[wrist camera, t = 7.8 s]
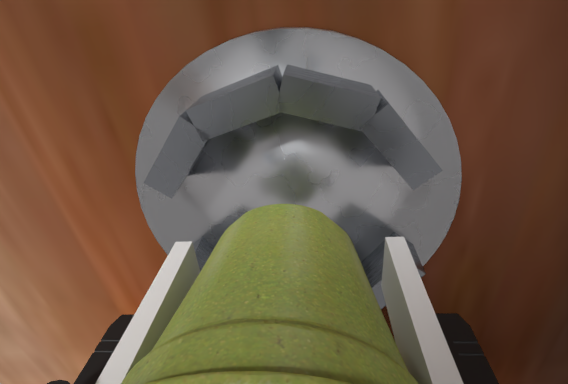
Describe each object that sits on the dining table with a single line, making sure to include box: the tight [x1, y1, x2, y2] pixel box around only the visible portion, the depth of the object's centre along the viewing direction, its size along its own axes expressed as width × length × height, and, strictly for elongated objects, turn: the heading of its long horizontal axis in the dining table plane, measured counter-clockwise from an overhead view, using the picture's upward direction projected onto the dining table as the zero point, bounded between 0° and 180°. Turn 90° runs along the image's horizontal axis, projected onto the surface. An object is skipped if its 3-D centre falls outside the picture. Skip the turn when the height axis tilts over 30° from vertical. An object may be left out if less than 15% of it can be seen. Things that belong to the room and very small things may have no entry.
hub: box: [135, 27, 462, 309], centre depth 18 cm, size 18×18×4 cm
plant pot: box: [121, 204, 419, 384], centre depth 11 cm, size 9×9×9 cm
